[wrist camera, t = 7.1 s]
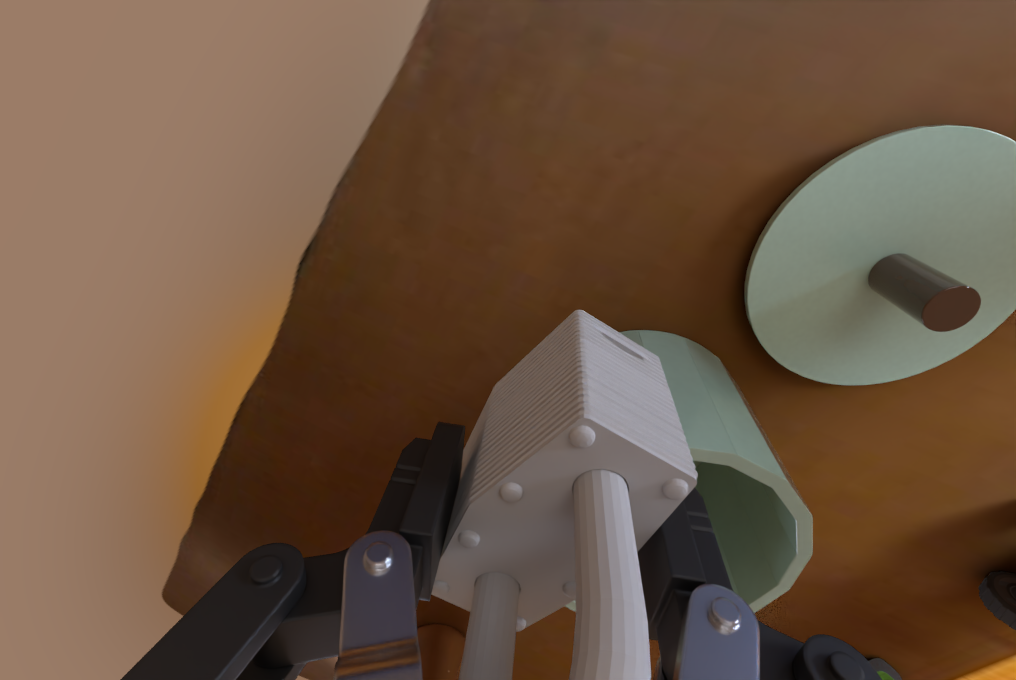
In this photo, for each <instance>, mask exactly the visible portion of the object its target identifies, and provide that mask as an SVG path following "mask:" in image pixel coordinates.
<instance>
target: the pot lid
mask: <svg viewBox="0 0 1016 680" xmlns="http://www.w3.org/2000/svg"><path fill="white" fill-rule="evenodd" d="M745 307H746V313H747V317H748V320H749V323H750V326H751V329H752V330H753V332H754V334H755V336H756V338H757V340H758V341H759V342H760V344H761V345H762V346H763V348H764V349H765V350H766V351H767V353H768V354H769V355H770V356H771V357H772V358H774V359H775V360H776V361H777V362H778V363H779V364H781V365H782V366H784V367H785V368H787V369H788V370H790V371H792V372H794V373H796V374H798V375H800V376H802V377H806V378H809V379H812V380H815V381H819V382H824V383H829V384H837V385H870V384H878V383H885V382H890V381H894V380H899V379H903V378H906V377H909V376H913V375H916V374H919V373H922V372H924V371H927V370H929V369H932V368H934V367H937V366H939V365H941V364H943V363H945V362H947V361H949V360H951V359H953V358H955V357H956V356H958V355H960V354H961V353H963V352H965V351H966V350H968V349H970V348H971V347H973V346H974V345H975V344H977V343H978V342H980V341H981V340H982V339H984V338H985V337H987V336H988V335H989V334H990V333H991V332H993V331H994V330H995V329H996V328H997V327H998V326H999V325H1001V324H1002V323H1003V322H1004V321H1005V320H1006V319H1007V318H1008V317H1009V316H1010V315H1011V314H1012V313H1013V312H1014V311H1015V309H1016V142H1015V141H1014V140H1012V139H1010V138H1009V137H1006V136H1004V135H1001V134H998V133H996V132H993V131H990V130H985V129H980V128H975V127H970V126H961V125H931V126H919V127H915V128H910V129H905V130H900V131H896V132H893V133H890V134H887V135H884V136H880V137H877V138H874V139H872V140H870V141H868V142H865V143H863V144H861V145H859V146H856V147H854V148H852V149H850V150H849V151H847V152H845V153H843V154H842V155H840V156H838V157H836V158H835V159H833V160H831V161H830V162H828V163H827V164H826V165H824V166H823V167H821V168H820V169H819V170H817V171H816V172H814V173H813V174H812V175H811V176H810V177H808V178H807V179H806V180H805V181H804V182H803V183H802V184H800V185H799V186H798V187H797V188H796V189H795V190H794V191H793V192H792V193H791V194H790V195H789V196H788V197H787V199H786V200H785V201H784V202H783V203H782V204H781V205H780V207H779V208H778V209H777V211H776V212H775V213H774V214H773V216H772V217H771V218H770V220H769V221H768V223H767V225H766V226H765V228H764V230H763V231H762V233H761V235H760V236H759V239H758V241H757V243H756V245H755V248H754V250H753V252H752V255H751V258H750V262H749V265H748V268H747V273H746V280H745Z"/></svg>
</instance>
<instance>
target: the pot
mask: <svg viewBox="0 0 1016 680" xmlns="http://www.w3.org/2000/svg"><path fill="white" fill-rule="evenodd" d="M619 333H621V334H622V335H624V336H625V337H627V338H629V339H630V340H632V341H634V342H635V343H637V344H638V345H640V346H642V347H643V348H645V349H647V350H648V351H650V352H651V353H653V354H655V355H656V356H658V357H659V359H660V362H661V365H662V369H663V371H664V374H665V378H666V382H667V383H668V387H669V389H670V392H671V396H672V398H673V401H674V406H675V407H676V411H677V413H678V417H679V419H680V420H679V422H680V423H681V425H682V430H683V431H684V435H685V437H686V442H687V444H688V448H689V450H690V455H691V456H692V458H693V463H694V465H695V470H696V471H697V473H698V477H697V479H696V480H697V484H696V486H695V488H696V489H697V491H698V492H699V493H700V495H701V496H702V497H703V500H704V503H705V506H706V509H707V512H708V518H709V519H710V521H711V525H712V528H713V533H714V534H715V537H716V540H717V543H718V546H719V549H720V552H721V555H722V559H723V562H724V565H725V568H726V571H727V574H728V577H729V580H730V583H731V586H732V589H733V591H734V592H735V593H736V594H738V595H739V596H740V597H741V598H742V599H743V600H744V601H745V602H746V603H747V604H748V605H749V606H750V608H751V609H752V611H753V612H754V613H755V612H757V611H758V610H760V609H761V608H763V607H764V606H766V605H767V604H769V603H770V602H772V601H773V600H775V599H776V598H778V597H779V596H781V595H782V594H784V593H785V592H787V591H788V590H790V588H791V587H792V585H793V584H794V582H795V581H796V579H797V578H798V576H799V575H800V573H801V572H802V570H803V569H804V567H805V565H806V564H807V562H808V561H809V559H810V558H811V556H812V555H813V516H812V514H811V512H810V510H809V509H808V507H807V505H806V503H805V502H804V500H803V498H802V496H801V495H800V493H799V491H798V489H797V488H796V486H795V484H794V482H793V481H792V479H791V477H790V475H789V474H788V472H787V470H786V468H785V467H784V465H783V463H782V461H781V460H780V458H779V456H778V454H777V453H776V451H775V449H774V447H773V446H772V444H771V442H770V440H769V439H768V437H767V435H766V433H765V432H764V430H763V428H762V426H761V425H760V423H759V421H758V419H757V418H756V416H755V414H754V412H753V411H752V409H751V407H750V405H749V404H748V402H747V400H746V399H745V397H744V395H743V393H742V392H741V390H740V388H739V386H738V385H737V383H736V382H735V381H734V379H733V378H732V376H731V375H730V373H729V372H728V370H727V368H726V367H725V366H724V365H723V363H722V362H721V360H720V359H719V358H718V357H717V356H715V355H714V354H712V353H711V352H710V351H709V350H707V349H706V348H704V347H703V346H701V345H700V344H698V343H696V342H694V341H691V340H689V339H687V338H684V337H681V336H678V335H675V334H671V333H666V332H661V331H651V330H631V331H624V332H619ZM565 607H567V608H568V609H571V610H573V611H575V612H576V600H574V601H573V602H571V603H569V604H567V605H565Z"/></svg>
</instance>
